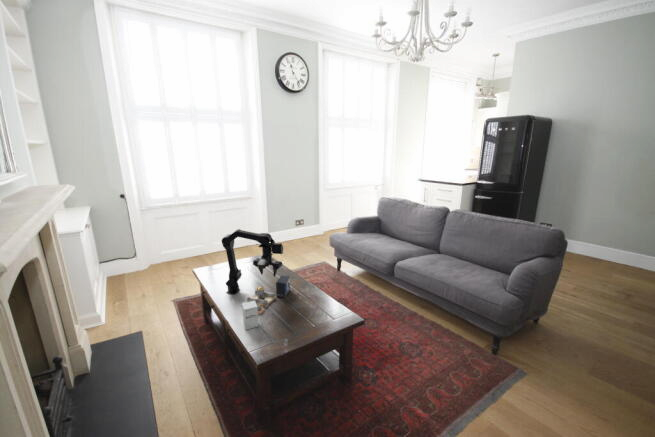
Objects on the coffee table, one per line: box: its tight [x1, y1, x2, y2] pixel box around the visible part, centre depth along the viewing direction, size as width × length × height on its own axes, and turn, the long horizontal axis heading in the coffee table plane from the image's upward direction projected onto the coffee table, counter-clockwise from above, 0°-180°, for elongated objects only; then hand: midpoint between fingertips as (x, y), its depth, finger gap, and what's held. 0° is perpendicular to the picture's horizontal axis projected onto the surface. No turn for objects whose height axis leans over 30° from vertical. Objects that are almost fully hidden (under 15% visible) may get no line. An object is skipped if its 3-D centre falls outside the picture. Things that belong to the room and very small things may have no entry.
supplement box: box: [241, 301, 259, 331], centre depth 164 cm, size 7×7×13 cm
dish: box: [257, 306, 265, 316], centre depth 178 cm, size 8×8×4 cm
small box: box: [275, 275, 291, 298], centre depth 198 cm, size 11×6×10 cm, turn 168°
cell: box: [256, 286, 265, 300], centre depth 189 cm, size 4×4×8 cm
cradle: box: [246, 289, 277, 308], centre depth 190 cm, size 14×12×4 cm
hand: (268, 275), depth 196 cm, fingers open, 9 cm apart
